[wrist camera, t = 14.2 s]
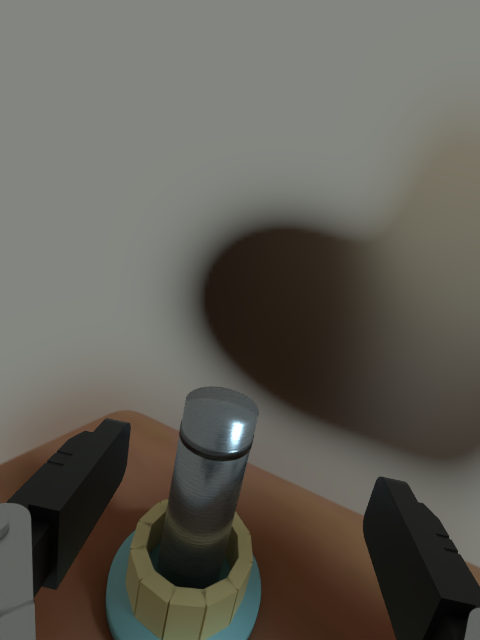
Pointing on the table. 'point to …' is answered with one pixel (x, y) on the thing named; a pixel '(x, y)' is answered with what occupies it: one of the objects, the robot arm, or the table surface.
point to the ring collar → (180, 590)
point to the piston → (205, 485)
